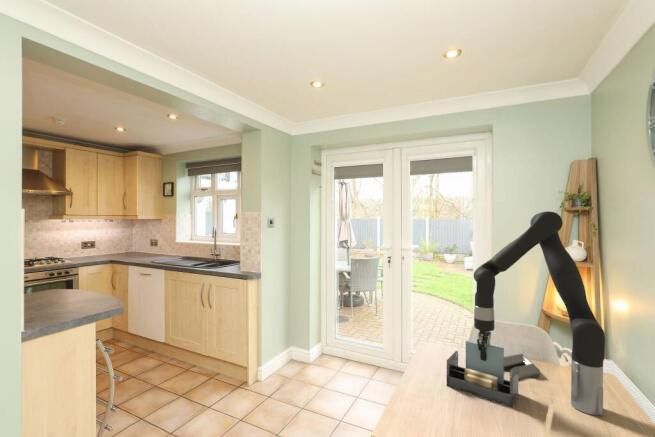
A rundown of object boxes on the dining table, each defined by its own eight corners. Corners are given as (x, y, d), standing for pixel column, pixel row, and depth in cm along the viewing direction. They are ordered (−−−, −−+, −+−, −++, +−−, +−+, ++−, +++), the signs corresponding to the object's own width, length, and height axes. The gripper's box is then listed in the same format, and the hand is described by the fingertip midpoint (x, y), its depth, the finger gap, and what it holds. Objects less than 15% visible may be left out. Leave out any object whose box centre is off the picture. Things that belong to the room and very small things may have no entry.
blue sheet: (503, 383, 129) (503, 348, 129) (502, 385, 127) (502, 349, 127) (467, 372, 138) (466, 339, 137) (465, 374, 136) (465, 341, 136)
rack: (518, 397, 127) (518, 367, 127) (512, 411, 118) (513, 379, 118) (455, 377, 142) (455, 350, 142) (446, 389, 133) (446, 360, 133)
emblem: (479, 341, 171) (542, 355, 154) (479, 351, 171) (542, 366, 154) (465, 360, 149) (537, 378, 132) (465, 371, 149) (537, 391, 132)
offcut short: (492, 396, 125) (492, 380, 125) (491, 398, 124) (491, 383, 124) (468, 388, 131) (468, 373, 131) (466, 390, 129) (466, 375, 129)
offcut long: (498, 394, 126) (498, 377, 126) (496, 397, 124) (497, 379, 124) (465, 384, 134) (466, 368, 134) (464, 386, 132) (464, 369, 132)
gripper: (490, 323, 125) (490, 367, 125) (497, 314, 135) (498, 355, 135) (469, 319, 129) (469, 362, 129) (478, 311, 140) (478, 351, 140)
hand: (484, 358), depth 132 cm, fingers closed on blue sheet, 2 cm apart
